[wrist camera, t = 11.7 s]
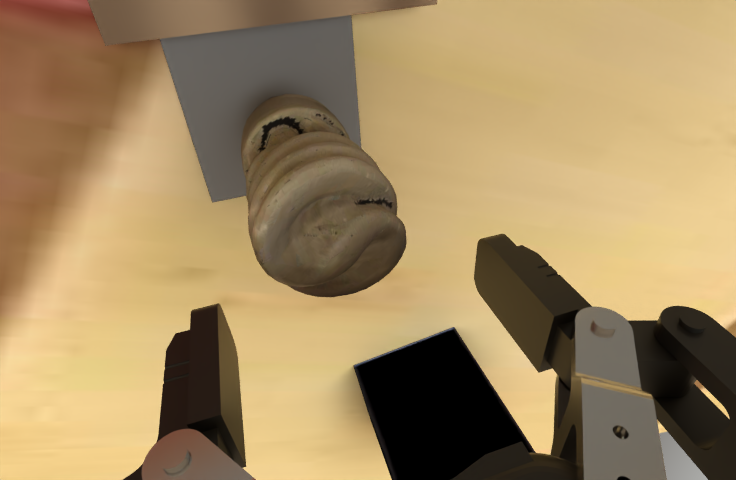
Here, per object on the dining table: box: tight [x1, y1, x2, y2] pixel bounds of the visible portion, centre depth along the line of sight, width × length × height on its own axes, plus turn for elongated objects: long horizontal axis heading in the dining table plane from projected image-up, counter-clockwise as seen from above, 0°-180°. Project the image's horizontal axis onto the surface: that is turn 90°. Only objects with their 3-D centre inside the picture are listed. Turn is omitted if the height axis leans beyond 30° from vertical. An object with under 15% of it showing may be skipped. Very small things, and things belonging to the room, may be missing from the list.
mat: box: [160, 15, 361, 202], centre depth 26 cm, size 10×10×1 cm
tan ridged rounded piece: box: [241, 94, 406, 297], centre depth 20 cm, size 6×6×15 cm
